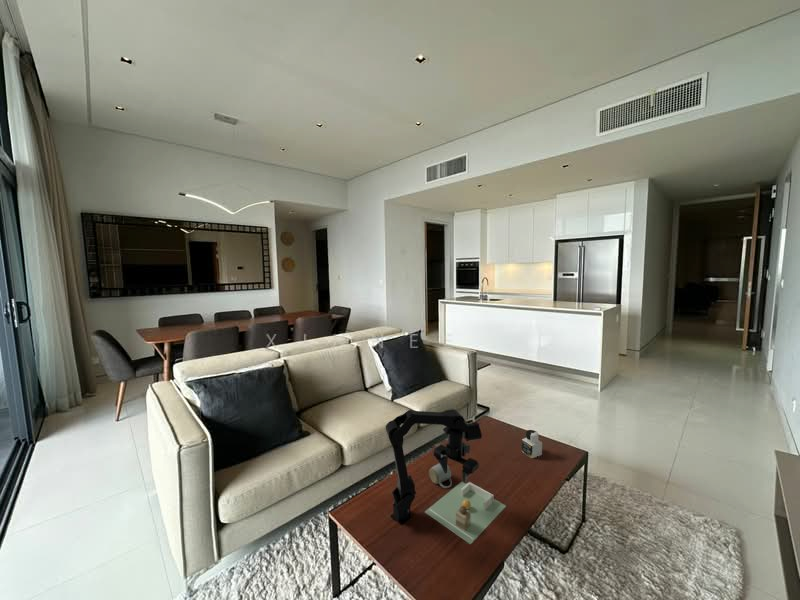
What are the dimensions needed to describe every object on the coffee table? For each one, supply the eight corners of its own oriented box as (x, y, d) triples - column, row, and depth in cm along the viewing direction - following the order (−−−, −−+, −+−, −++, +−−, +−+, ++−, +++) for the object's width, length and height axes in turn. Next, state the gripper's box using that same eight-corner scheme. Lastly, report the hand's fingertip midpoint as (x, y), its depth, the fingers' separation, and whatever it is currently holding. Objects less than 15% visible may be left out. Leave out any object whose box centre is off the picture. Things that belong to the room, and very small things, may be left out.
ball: (467, 512, 132) (467, 504, 132) (460, 508, 134) (460, 500, 134) (472, 508, 134) (472, 500, 134) (465, 503, 137) (465, 496, 136)
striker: (464, 530, 123) (464, 512, 122) (455, 524, 126) (455, 506, 125) (470, 524, 126) (470, 506, 125) (461, 519, 129) (461, 501, 128)
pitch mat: (470, 545, 117) (470, 544, 117) (424, 512, 133) (424, 511, 133) (506, 506, 135) (506, 505, 135) (461, 482, 151) (461, 481, 151)
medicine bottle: (521, 451, 174) (521, 430, 172) (531, 448, 177) (531, 427, 175) (531, 458, 167) (532, 436, 166) (542, 455, 170) (542, 433, 169)
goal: (485, 509, 133) (485, 503, 133) (460, 495, 142) (460, 489, 141) (493, 501, 138) (493, 495, 137) (469, 488, 146) (469, 481, 146)
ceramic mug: (427, 479, 153) (427, 464, 152) (441, 472, 158) (441, 458, 157) (442, 492, 145) (442, 476, 144) (456, 485, 149) (456, 469, 148)
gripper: (486, 442, 132) (485, 478, 134) (447, 426, 145) (447, 459, 147) (471, 454, 124) (471, 492, 126) (432, 436, 137) (432, 471, 139)
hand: (455, 477), depth 135 cm, fingers open, 9 cm apart
